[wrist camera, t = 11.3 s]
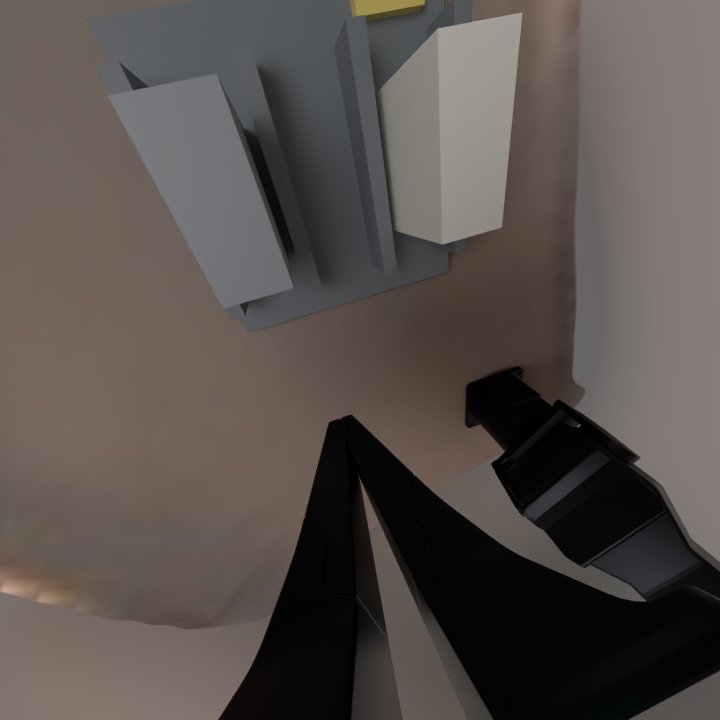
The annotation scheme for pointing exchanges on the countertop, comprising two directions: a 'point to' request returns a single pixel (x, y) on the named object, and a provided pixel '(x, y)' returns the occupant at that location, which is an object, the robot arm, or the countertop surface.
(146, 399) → the countertop surface
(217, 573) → the countertop surface
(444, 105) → the block
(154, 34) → the rack
